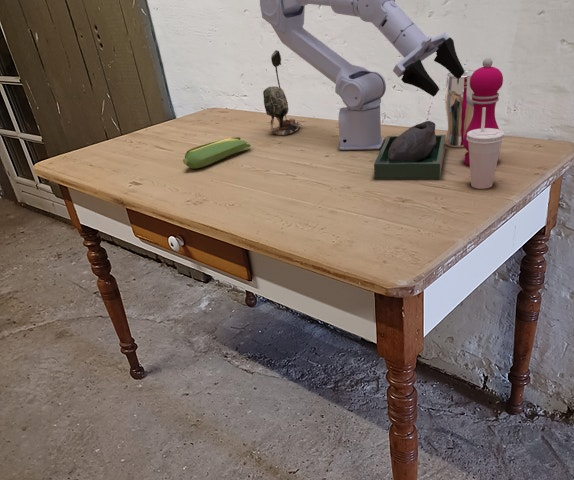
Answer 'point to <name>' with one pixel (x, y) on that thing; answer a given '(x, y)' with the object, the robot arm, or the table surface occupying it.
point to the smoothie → (484, 154)
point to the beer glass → (458, 107)
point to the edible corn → (214, 152)
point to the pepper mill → (483, 98)
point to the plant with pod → (278, 104)
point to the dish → (410, 163)
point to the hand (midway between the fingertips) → (449, 84)
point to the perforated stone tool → (413, 144)
